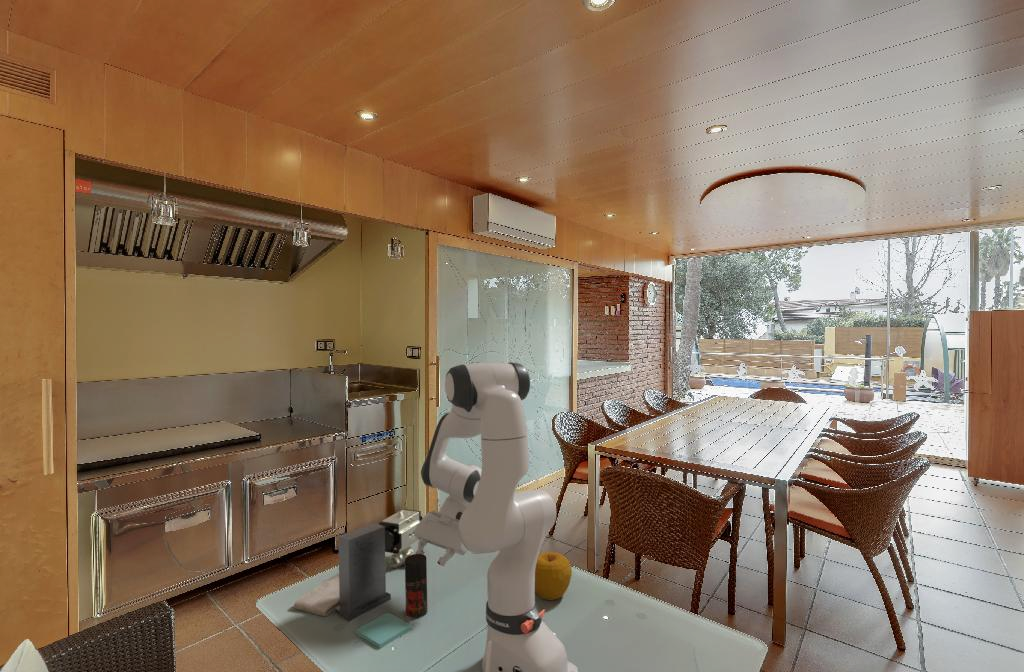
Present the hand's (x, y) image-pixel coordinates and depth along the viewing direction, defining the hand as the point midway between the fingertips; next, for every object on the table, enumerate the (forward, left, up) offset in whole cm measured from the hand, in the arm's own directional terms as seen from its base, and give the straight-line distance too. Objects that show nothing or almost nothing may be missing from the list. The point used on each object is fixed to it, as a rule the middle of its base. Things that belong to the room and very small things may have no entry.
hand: (429, 560), depth 138 cm
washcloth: (+27, +15, -13) cm, 33 cm away
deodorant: (0, +5, -13) cm, 14 cm away
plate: (0, +16, -13) cm, 20 cm away
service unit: (+15, +12, -13) cm, 23 cm away
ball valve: (+27, -12, -13) cm, 32 cm away
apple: (-25, -25, -13) cm, 38 cm away
